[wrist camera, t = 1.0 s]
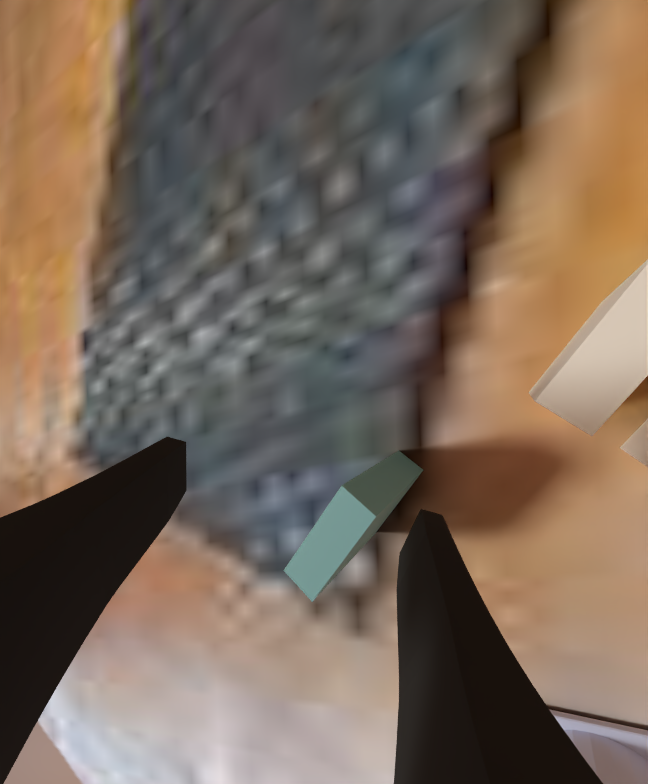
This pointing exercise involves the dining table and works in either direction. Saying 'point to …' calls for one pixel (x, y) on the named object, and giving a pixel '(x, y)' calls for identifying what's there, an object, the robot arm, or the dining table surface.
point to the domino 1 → (350, 522)
